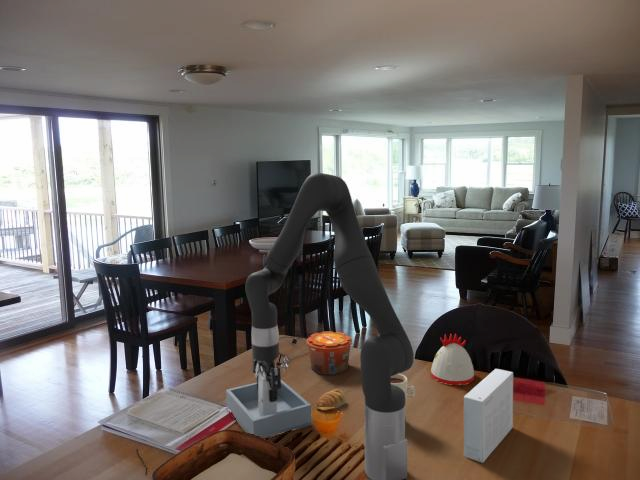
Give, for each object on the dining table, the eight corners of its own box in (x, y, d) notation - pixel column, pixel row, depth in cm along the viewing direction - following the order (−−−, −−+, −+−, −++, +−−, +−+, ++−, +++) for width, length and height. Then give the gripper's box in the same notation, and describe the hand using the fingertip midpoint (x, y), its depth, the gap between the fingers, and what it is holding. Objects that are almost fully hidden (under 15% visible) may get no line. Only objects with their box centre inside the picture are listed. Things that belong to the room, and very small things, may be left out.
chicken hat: (428, 368, 180) (428, 326, 178) (468, 368, 180) (469, 326, 177) (435, 385, 166) (436, 341, 164) (478, 386, 166) (480, 341, 163)
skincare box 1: (257, 410, 150) (256, 370, 148) (273, 407, 151) (271, 368, 149) (262, 420, 144) (261, 379, 142) (278, 417, 145) (277, 377, 143)
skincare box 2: (493, 421, 144) (495, 367, 141) (513, 428, 140) (516, 372, 138) (461, 456, 128) (463, 395, 125) (482, 464, 124) (485, 401, 122)
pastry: (327, 415, 149) (327, 402, 148) (310, 408, 153) (310, 395, 153) (348, 403, 156) (348, 391, 155) (331, 397, 160) (331, 385, 160)
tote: (311, 425, 143) (311, 404, 142) (254, 442, 135) (253, 421, 134) (279, 395, 161) (278, 377, 160) (226, 409, 153) (225, 389, 152)
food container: (360, 364, 184) (360, 335, 183) (337, 380, 171) (337, 349, 169) (322, 355, 193) (321, 327, 191) (297, 370, 180) (297, 341, 178)
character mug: (373, 426, 142) (373, 382, 140) (376, 414, 149) (376, 371, 147) (413, 431, 139) (414, 385, 137) (414, 418, 146) (415, 374, 144)
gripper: (288, 345, 140) (290, 402, 143) (267, 330, 152) (268, 382, 155) (263, 351, 136) (264, 409, 139) (243, 335, 149) (245, 388, 151)
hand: (266, 395), depth 147 cm, fingers open, 8 cm apart
